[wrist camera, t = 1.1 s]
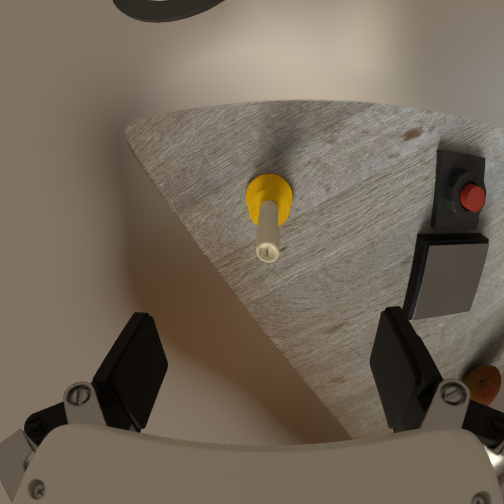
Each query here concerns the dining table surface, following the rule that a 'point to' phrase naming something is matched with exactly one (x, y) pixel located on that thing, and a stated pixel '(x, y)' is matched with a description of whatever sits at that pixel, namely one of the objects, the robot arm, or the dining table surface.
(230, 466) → the robot arm
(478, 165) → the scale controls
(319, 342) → the dining table surface
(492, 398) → the fruit
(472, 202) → the button
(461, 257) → the scale
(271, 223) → the candle
